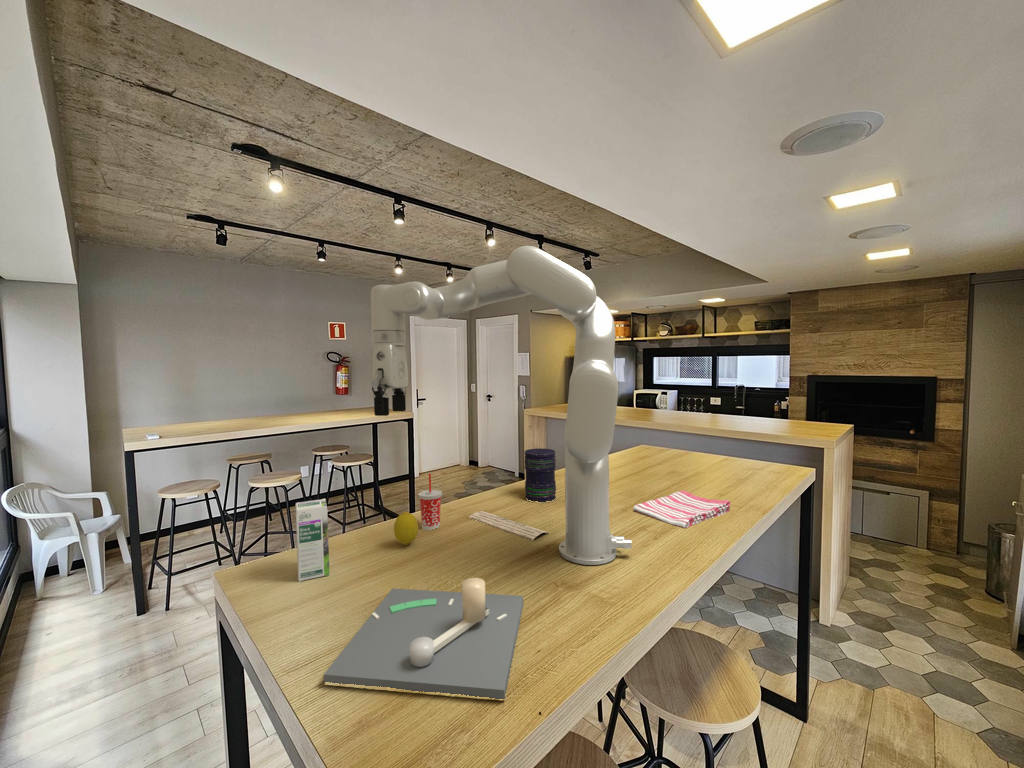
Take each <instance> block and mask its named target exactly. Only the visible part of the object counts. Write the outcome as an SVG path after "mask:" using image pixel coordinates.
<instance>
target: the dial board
mask: <svg viewBox="0 0 1024 768" xmlns="http://www.w3.org/2000/svg"><path fill="white" fill-rule="evenodd" d="M485 607H486V608H488V609H489V614H488V615H487V616H485V618H484V620H482V621H480V622H477V623H476V624H474V625H473V626H471V627H470V628H469V629H467V630H466V631H464V632H463V633H462V634H460V635H459V636H457V637H456V638H455V639H453V640H452V641H450V642H449V643H448V644H446V645H445V646H443V647H442V648H441V649H439V650H438V651H436V652H435V653H434V659H433V661H432V662H431V663H430V664H428V665H426V666H422V667H417V666H414V665H412V664H411V663H410V643H411V642H412V641H413V640H415V639H417V638H420V637H429V638H431V639H432V640H433V641H434V640H435V639H436V638H438V637H439V636H441V635H442V634H444V633H445V632H447V631H448V630H450V629H451V628H453V627H454V626H456V625H457V624H458V623H460V622H461V621H463V617H462V591H460V592H459V591H445V590H444V591H443V590H428V589H427V590H425V589H423V590H422V589H410V588H409V589H408V588H407V589H406V588H391V590H390V591H389V592H388V594H386V596H385V597H384V598H383V599H382V600H381V602H380V603H379V605H378V606H377V607H376V608H375V610H374V611H373V612H372V613H371V615H369V617H368V618H367V619H366V621H365V622H364V624H363V625H362V626H361V627H360V628H359V629H358V630H357V632H356V633H355V635H354V636H353V637H352V638H351V639H350V641H349V642H348V643H347V645H346V646H345V647H344V648H343V650H342V651H341V652H340V654H339V655H338V656H337V657H336V658H335V660H334V661H333V662H332V664H331V665H330V666H329V667H328V669H326V671H325V672H324V674H323V683H324V682H330V683H331V682H332V683H339V684H341V683H342V684H354V685H355V684H356V685H365V686H377V687H378V686H379V687H380V686H381V687H390V688H396V689H403V690H404V689H405V690H411V691H419V692H420V691H421V692H423V691H424V692H435V693H436V692H440V693H441V692H442V693H450V694H461V695H463V694H464V695H466V696H467V695H469V696H475V697H477V696H479V697H489V698H495V699H505V700H506V697H505V694H507V692H506V689H507V690H508V686H507V684H508V685H509V681H508V679H509V680H510V676H509V674H510V675H511V671H510V668H511V669H512V666H511V663H512V664H513V660H514V655H513V654H515V650H514V649H516V645H515V644H517V640H516V639H518V634H519V628H520V622H521V618H522V613H523V608H524V595H517V594H516V595H513V594H496V593H485ZM512 659H513V660H512Z"/></svg>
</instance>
